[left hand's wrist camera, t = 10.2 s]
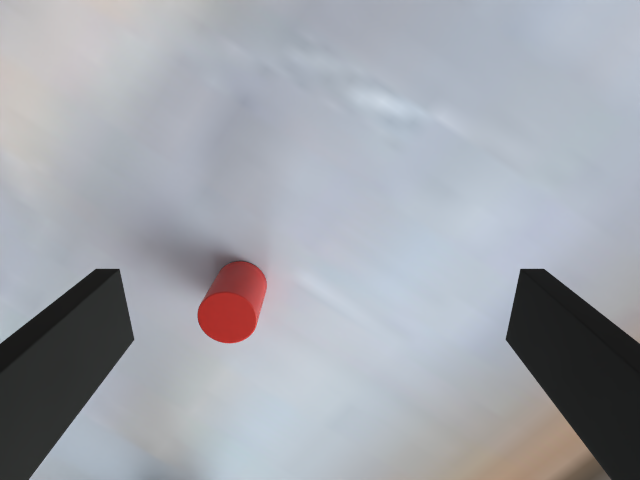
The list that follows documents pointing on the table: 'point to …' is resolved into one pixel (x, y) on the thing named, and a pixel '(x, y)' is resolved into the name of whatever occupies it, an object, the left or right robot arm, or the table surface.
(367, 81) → the table surface
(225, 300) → the can
